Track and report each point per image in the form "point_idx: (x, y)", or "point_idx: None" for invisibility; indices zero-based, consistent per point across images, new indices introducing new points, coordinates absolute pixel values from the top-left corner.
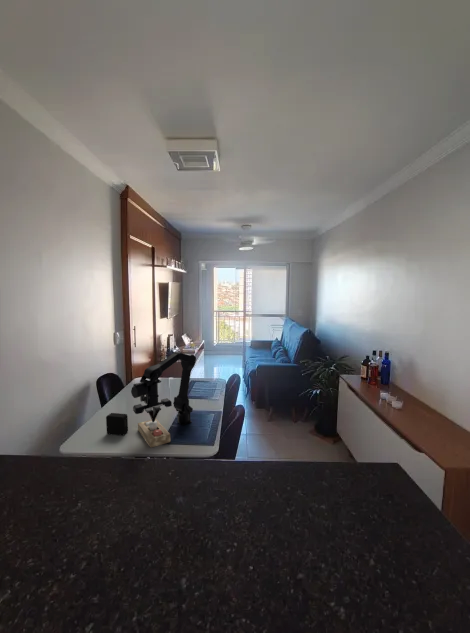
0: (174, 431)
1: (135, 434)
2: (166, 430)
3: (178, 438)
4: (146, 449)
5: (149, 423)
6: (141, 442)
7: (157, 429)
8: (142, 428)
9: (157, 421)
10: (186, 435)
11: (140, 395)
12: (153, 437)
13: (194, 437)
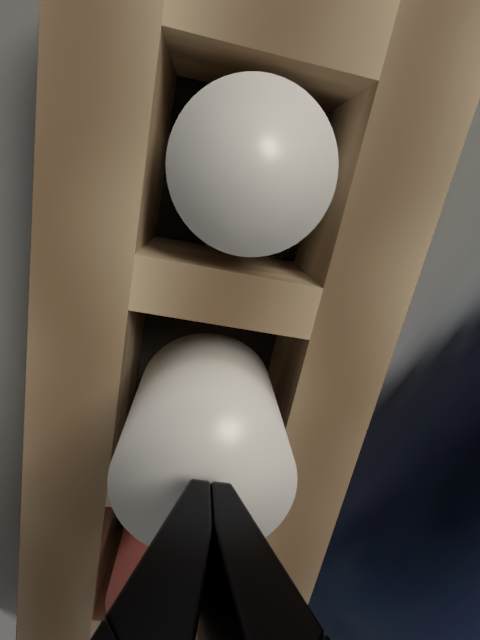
0: (451, 422)
1: (8, 110)
2: (313, 575)
3: (368, 565)
4: (7, 556)
5: (107, 482)
6: (9, 399)
7: (286, 362)
8: (41, 269)
9: (430, 190)
10: (460, 564)
11: None
12: (74, 630)
13: (474, 628)
